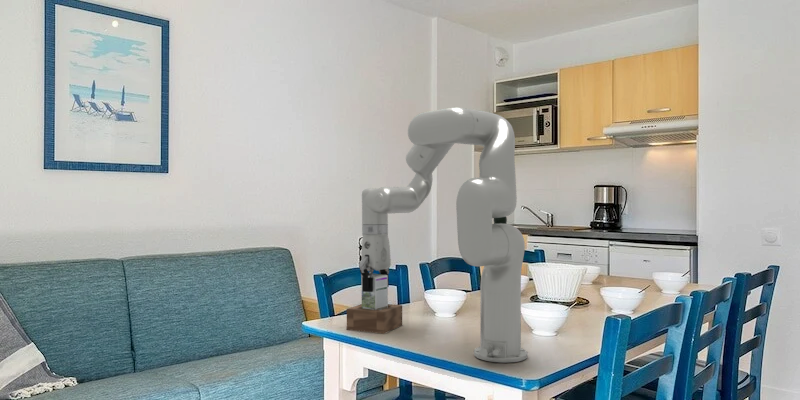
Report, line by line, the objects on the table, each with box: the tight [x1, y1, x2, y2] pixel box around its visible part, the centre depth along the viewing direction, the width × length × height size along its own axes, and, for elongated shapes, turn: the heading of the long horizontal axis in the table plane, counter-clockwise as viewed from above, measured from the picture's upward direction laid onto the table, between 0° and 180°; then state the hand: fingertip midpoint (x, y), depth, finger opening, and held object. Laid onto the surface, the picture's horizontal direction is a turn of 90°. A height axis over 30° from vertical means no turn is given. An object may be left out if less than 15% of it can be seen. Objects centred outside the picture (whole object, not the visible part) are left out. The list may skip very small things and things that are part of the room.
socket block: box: [346, 303, 403, 335], centre depth 174 cm, size 12×12×6 cm
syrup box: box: [360, 273, 389, 310], centre depth 174 cm, size 6×6×14 cm
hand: (375, 289), depth 174 cm, fingers open, 9 cm apart
